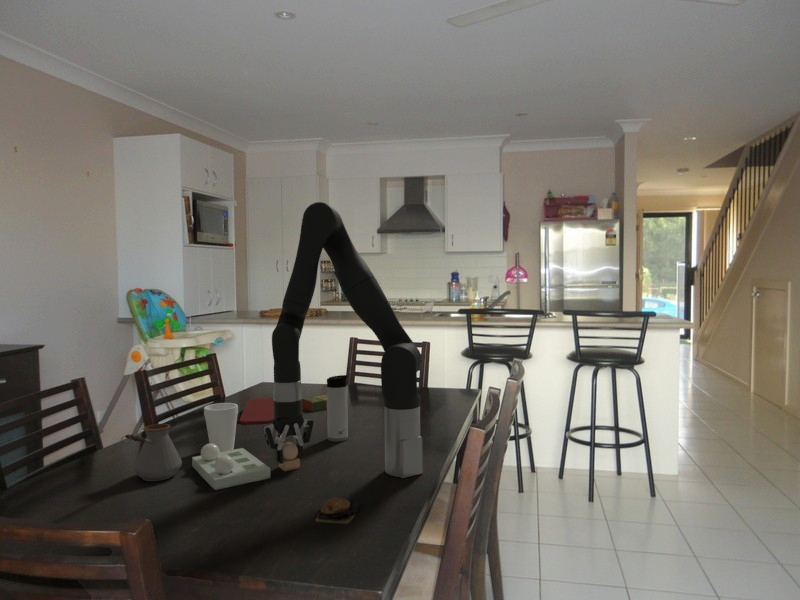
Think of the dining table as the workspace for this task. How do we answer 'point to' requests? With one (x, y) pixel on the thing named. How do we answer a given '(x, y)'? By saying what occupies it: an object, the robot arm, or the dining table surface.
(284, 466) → the egg cup
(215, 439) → the foam cup
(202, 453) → the white egg
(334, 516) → the sandwich
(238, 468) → the egg tray
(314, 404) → the carton
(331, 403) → the travel mug
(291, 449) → the brown egg
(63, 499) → the dining table surface
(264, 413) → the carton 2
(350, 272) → the robot arm
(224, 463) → the white egg
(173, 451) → the coffee pot
